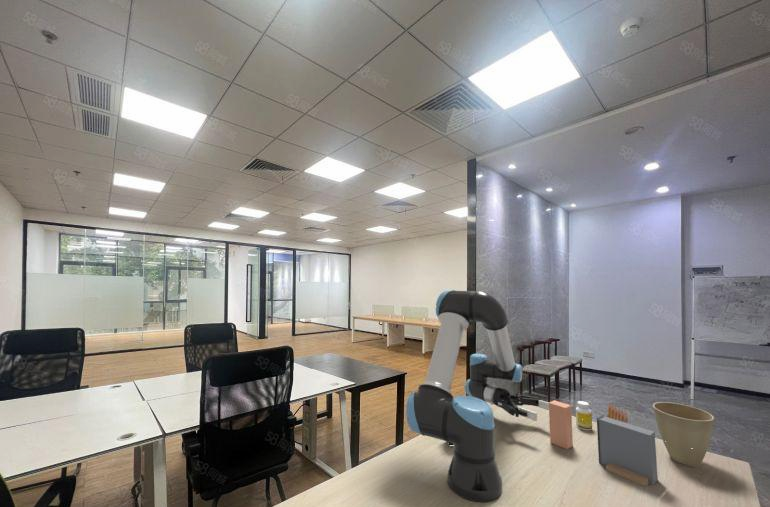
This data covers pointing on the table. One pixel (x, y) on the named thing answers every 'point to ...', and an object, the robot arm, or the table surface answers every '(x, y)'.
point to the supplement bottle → (583, 416)
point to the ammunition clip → (616, 414)
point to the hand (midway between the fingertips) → (546, 412)
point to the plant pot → (684, 431)
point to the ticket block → (627, 450)
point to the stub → (560, 424)
